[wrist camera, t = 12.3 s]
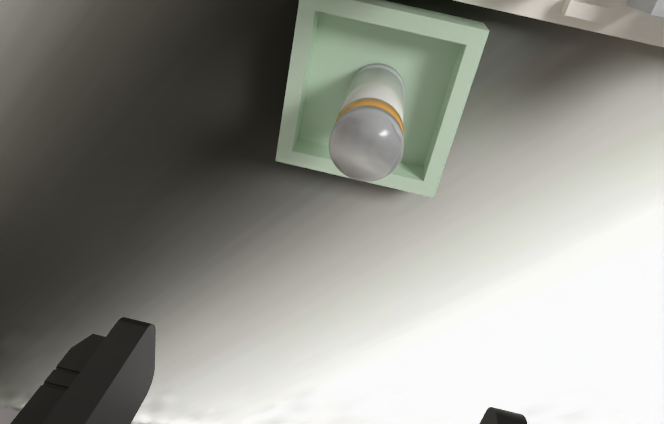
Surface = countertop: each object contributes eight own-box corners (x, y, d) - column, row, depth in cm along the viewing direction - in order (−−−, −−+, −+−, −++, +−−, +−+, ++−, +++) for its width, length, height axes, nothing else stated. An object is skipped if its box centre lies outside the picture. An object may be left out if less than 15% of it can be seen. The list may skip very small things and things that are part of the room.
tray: (309, -17, 32) (301, -12, 30) (483, 22, 32) (489, 30, 29) (284, 144, 38) (275, 160, 35) (432, 178, 37) (434, 197, 35)
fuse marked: (344, 111, 35) (322, 172, 27) (355, 57, 33) (336, 104, 25) (397, 123, 35) (393, 188, 26) (411, 70, 33) (411, 121, 25)
